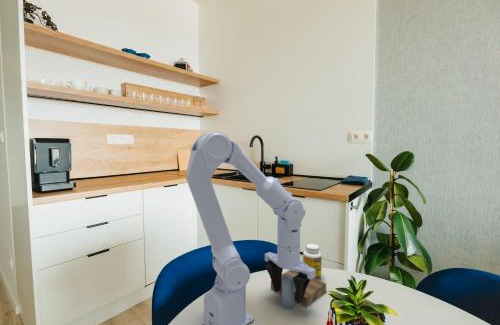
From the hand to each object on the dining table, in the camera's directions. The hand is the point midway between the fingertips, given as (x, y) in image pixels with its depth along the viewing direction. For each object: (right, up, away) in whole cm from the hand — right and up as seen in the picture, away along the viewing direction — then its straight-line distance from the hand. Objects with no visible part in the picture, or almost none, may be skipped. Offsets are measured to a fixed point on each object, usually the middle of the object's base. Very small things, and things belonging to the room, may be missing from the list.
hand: (288, 295), depth 66 cm
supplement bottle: (+9, -2, +14) cm, 17 cm away
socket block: (+4, -2, +7) cm, 8 cm away
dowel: (0, -2, 0) cm, 2 cm away
